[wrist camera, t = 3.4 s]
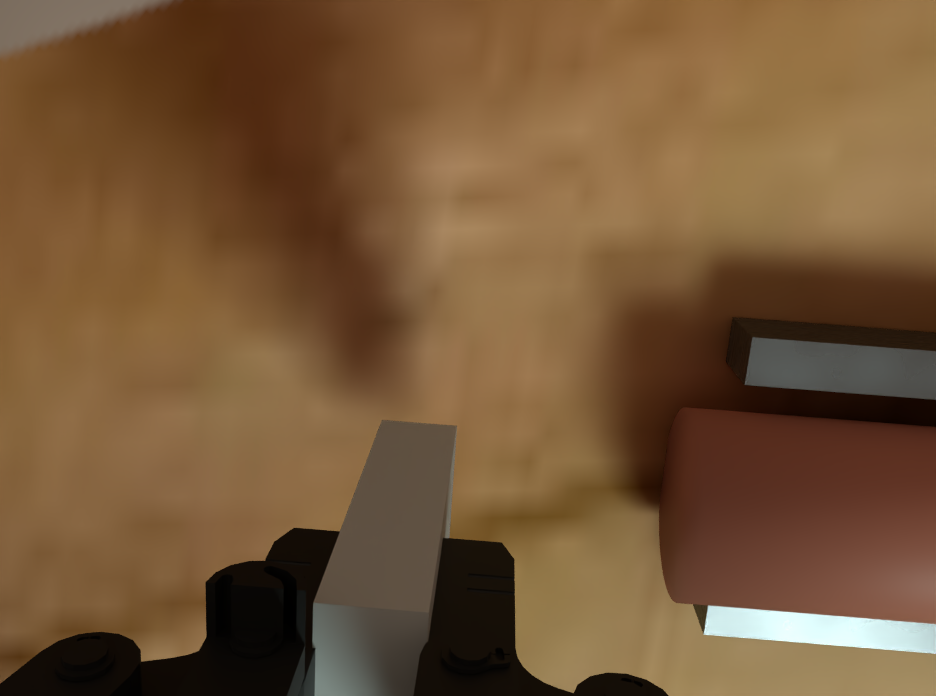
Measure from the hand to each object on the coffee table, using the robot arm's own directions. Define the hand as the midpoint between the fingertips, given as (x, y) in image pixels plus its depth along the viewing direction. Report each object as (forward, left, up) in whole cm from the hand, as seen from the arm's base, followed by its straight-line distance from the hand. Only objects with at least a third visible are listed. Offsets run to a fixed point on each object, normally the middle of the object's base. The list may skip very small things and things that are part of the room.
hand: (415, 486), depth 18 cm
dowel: (+10, 0, -3) cm, 11 cm away
